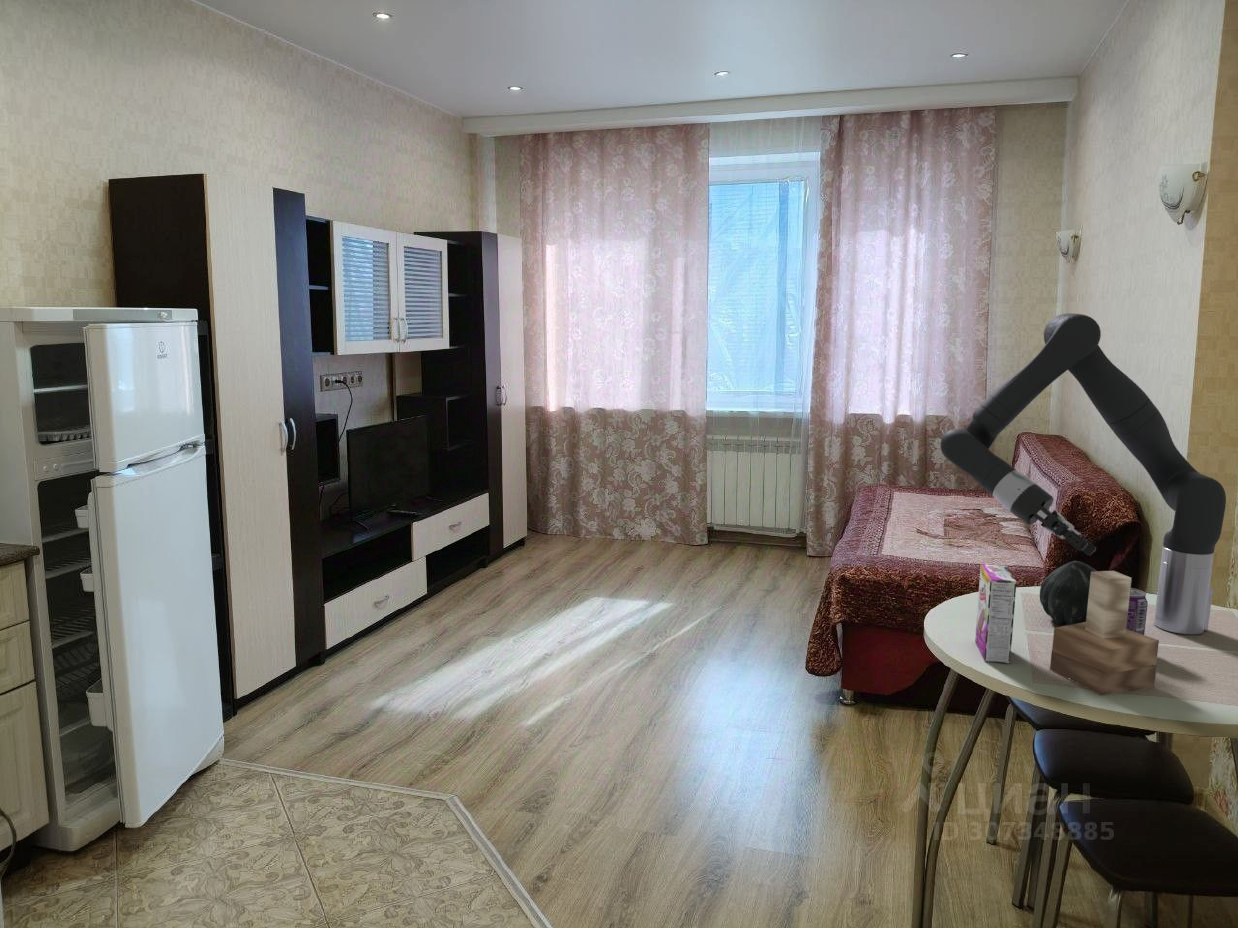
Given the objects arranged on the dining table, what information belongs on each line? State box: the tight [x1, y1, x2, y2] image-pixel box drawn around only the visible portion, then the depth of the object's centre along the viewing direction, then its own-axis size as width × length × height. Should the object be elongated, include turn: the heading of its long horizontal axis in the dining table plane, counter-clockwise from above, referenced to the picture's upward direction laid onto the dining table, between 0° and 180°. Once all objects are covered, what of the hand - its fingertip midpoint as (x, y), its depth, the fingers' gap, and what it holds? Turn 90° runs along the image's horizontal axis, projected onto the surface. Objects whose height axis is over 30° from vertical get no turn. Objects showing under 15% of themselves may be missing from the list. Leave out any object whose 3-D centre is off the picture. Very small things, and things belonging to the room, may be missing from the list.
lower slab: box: [1049, 650, 1158, 696], centre depth 170 cm, size 12×12×4 cm
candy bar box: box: [974, 563, 1017, 664], centre depth 181 cm, size 11×5×16 cm, turn 168°
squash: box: [1039, 560, 1097, 626], centre depth 199 cm, size 14×15×15 cm
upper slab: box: [1051, 622, 1160, 674], centre depth 169 cm, size 12×12×4 cm
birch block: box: [1085, 570, 1132, 639], centre depth 168 cm, size 5×5×11 cm
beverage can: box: [1126, 587, 1149, 635], centre depth 184 cm, size 7×7×12 cm
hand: (1088, 550), depth 181 cm, fingers open, 8 cm apart
